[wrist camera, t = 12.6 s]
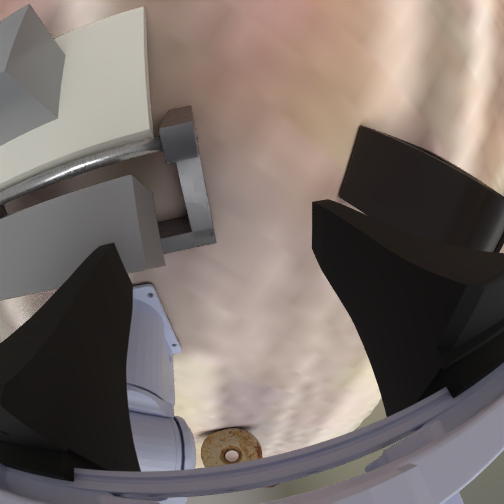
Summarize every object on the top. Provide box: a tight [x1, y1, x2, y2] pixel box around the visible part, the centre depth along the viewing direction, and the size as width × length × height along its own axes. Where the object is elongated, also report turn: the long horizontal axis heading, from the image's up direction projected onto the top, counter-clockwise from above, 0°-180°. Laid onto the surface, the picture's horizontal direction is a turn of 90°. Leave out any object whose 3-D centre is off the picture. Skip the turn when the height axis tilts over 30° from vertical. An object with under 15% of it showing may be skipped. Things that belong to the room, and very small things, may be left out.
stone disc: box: [201, 428, 262, 468], centre depth 40 cm, size 10×4×10 cm, turn 91°
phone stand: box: [339, 125, 504, 253], centre depth 17 cm, size 9×6×12 cm, turn 78°
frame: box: [0, 106, 216, 254], centre depth 15 cm, size 9×18×7 cm, turn 96°
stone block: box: [0, 4, 66, 146], centre depth 8 cm, size 4×4×5 cm
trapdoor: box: [0, 7, 165, 301], centre depth 13 cm, size 15×14×4 cm
